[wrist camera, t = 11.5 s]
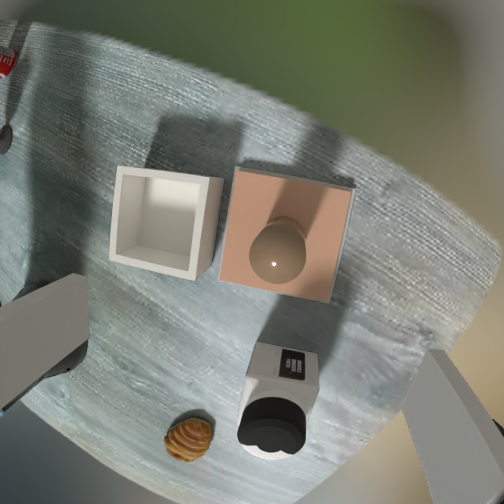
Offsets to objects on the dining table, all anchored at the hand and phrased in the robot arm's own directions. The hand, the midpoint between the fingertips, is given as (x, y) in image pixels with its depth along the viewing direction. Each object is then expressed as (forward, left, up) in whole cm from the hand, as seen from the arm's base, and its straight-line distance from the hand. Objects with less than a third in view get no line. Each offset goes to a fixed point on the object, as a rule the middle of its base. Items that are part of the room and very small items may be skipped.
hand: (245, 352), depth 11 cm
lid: (0, 0, -24) cm, 24 cm away
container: (+3, -17, -25) cm, 30 cm away
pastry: (-8, -33, -25) cm, 42 cm away
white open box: (-12, 0, -25) cm, 28 cm away
